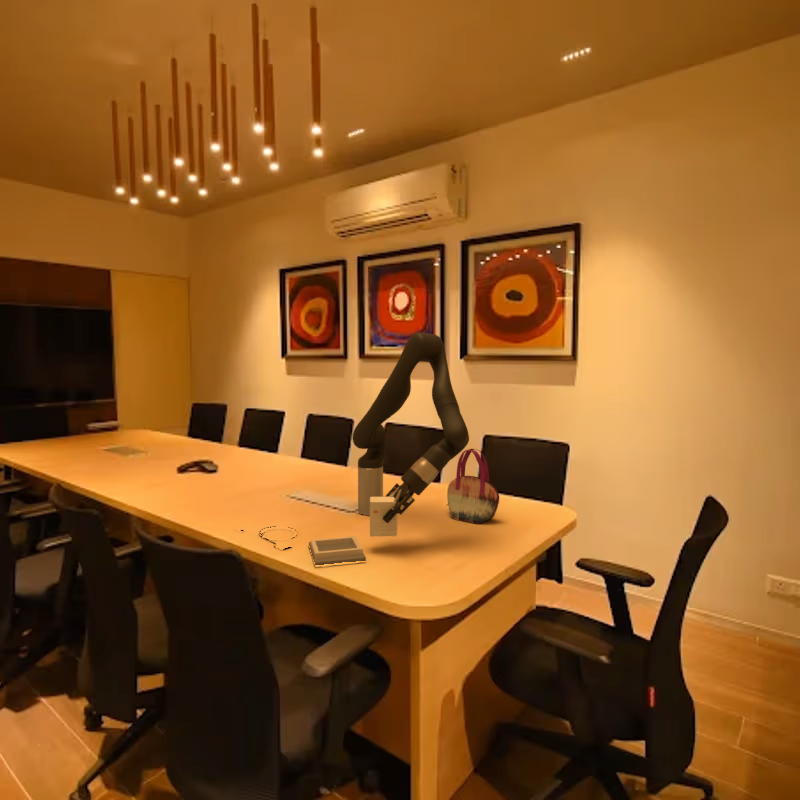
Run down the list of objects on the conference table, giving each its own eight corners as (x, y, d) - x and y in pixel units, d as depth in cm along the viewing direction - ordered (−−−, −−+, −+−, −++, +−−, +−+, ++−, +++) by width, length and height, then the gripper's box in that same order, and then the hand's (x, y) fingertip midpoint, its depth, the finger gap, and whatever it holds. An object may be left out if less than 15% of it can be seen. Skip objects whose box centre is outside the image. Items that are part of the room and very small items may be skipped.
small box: (396, 530, 162) (396, 496, 160) (397, 536, 156) (397, 501, 155) (369, 530, 161) (369, 496, 160) (369, 536, 156) (369, 501, 155)
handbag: (438, 516, 193) (439, 447, 192) (453, 510, 201) (454, 444, 199) (491, 527, 180) (492, 454, 178) (505, 520, 188) (506, 450, 186)
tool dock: (308, 546, 162) (308, 537, 162) (354, 542, 166) (354, 533, 165) (315, 568, 146) (315, 557, 145) (365, 562, 149) (365, 552, 149)
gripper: (404, 462, 166) (367, 502, 164) (419, 472, 152) (378, 516, 150) (420, 478, 168) (384, 517, 166) (436, 490, 154) (396, 533, 152)
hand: (381, 517), depth 158 cm, fingers closed on small box, 6 cm apart
